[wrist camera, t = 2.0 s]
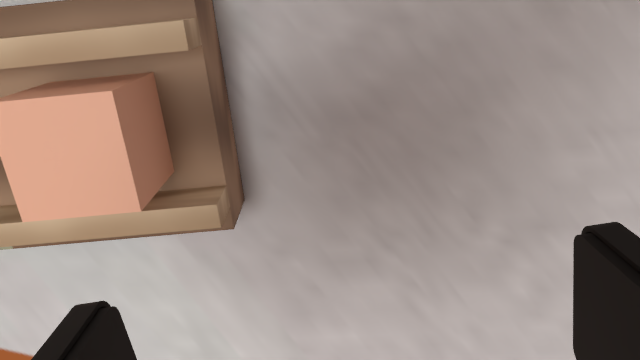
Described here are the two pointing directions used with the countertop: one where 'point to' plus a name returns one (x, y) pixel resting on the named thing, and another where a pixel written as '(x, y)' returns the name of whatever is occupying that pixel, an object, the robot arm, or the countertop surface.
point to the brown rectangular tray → (174, 95)
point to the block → (84, 146)
